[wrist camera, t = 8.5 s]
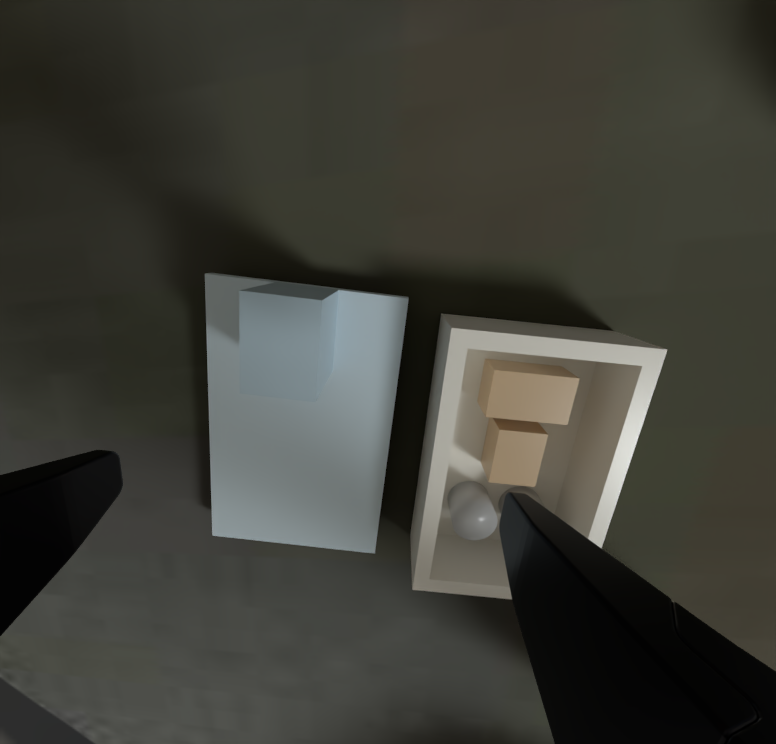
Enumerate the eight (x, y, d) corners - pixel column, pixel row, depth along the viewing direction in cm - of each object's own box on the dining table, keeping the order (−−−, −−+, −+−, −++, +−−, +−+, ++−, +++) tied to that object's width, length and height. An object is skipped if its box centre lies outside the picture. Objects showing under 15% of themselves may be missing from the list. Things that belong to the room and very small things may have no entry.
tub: (552, 549, 23) (581, 606, 20) (410, 535, 23) (412, 589, 20) (614, 330, 19) (667, 349, 15) (440, 313, 19) (451, 327, 15)
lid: (376, 531, 24) (370, 619, 18) (225, 515, 24) (171, 598, 18) (407, 294, 19) (412, 311, 14) (221, 271, 19) (147, 279, 13)
